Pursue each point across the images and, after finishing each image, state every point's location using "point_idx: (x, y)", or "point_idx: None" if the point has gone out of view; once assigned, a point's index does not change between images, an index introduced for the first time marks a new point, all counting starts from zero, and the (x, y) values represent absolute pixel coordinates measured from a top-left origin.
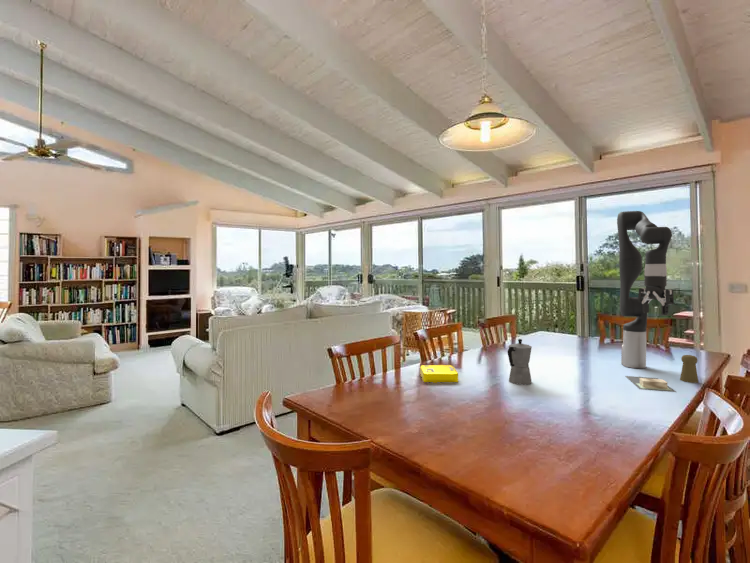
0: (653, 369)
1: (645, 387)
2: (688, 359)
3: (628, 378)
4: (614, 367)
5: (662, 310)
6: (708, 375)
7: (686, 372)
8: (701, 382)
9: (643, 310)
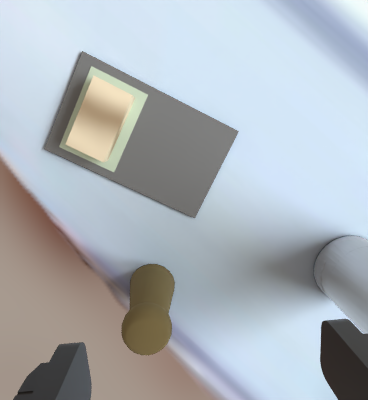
0: (296, 295)
1: None
2: (130, 313)
3: (206, 117)
4: (353, 191)
5: (47, 384)
6: (202, 387)
7: (141, 284)
8: None
9: (356, 332)
